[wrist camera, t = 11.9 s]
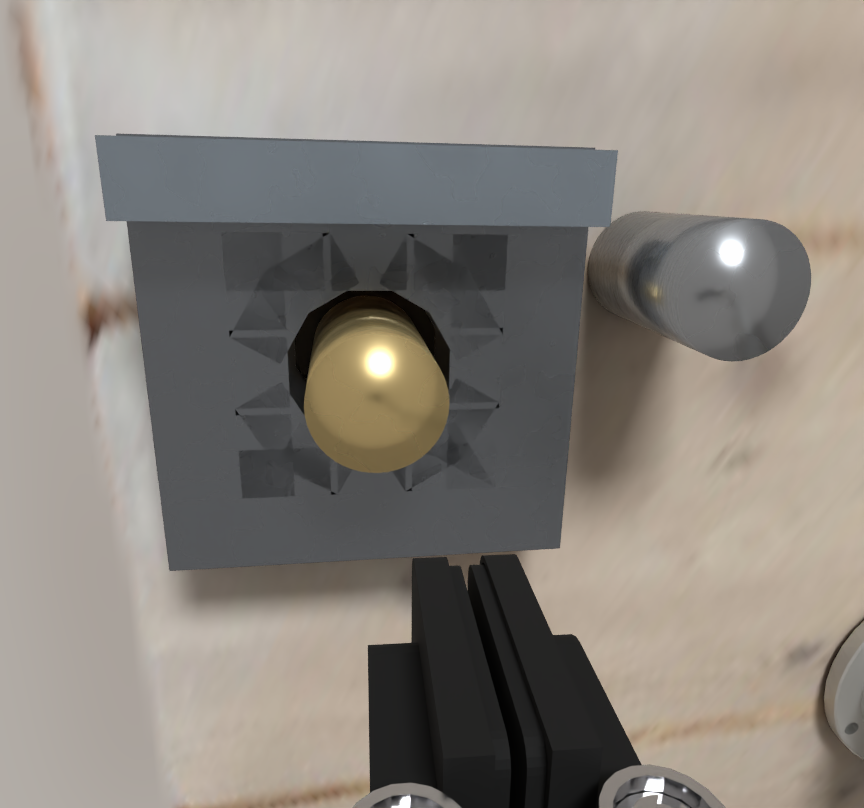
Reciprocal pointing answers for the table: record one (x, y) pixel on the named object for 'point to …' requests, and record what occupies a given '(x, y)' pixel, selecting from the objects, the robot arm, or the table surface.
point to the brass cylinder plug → (373, 387)
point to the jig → (323, 281)
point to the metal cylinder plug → (703, 280)
